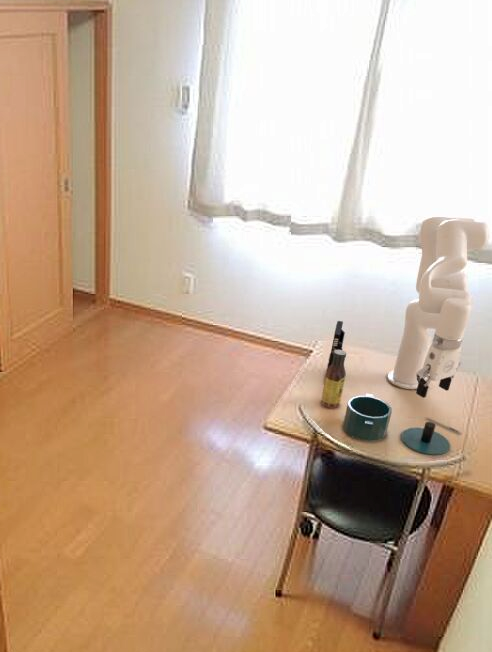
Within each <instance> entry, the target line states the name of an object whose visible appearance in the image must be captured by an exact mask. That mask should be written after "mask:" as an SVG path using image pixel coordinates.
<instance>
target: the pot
mask: <svg viewBox="0 0 492 652" xmlns="http://www.w3.org/2000/svg"><path fill="white" fill-rule="evenodd" d="M364 394H365V395H356V396H353V397H351V398H350V399H349V400H348V401H347V405H346V410H345V414H344V419H343V424H342V429H343V431H344V432H345V433H346V434H347V436H349V437H350V438H356V439H359V440H363V441H368V442H369V441H370V442H372V441H379V440H382V439H384V438H385V437H386V436H387V432H388V429H389V424H390V420H391V417H392V413H393V411H392V407H391V406H390V405H389V403H388V402H387V401H385V400H383V399H382V398H378V397H375V396H374V394H372V393H364Z"/></svg>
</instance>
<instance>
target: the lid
mask: <svg viewBox="0 0 492 652" xmlns="http://www.w3.org/2000/svg"><path fill="white" fill-rule="evenodd" d="M435 429H436V424H435V423H434V422H431V421H426V422H425V423H424V427H410V428H407V429H404V430H403V432H402V433H401V440H402V443H403V444H404V445H405V446H406V447H408V448H409V449H411V450H412V451H414V452H417V453H419V454H423V455H427V456H442V455H444V454H446V453H448V452H449V451H450V447H451V444H450V442H449V440H448V439H447V438H446V437H445V436H444V435H442V434H441V433H440V432H438V431H435Z"/></svg>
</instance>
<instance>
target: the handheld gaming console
mask: <svg viewBox="0 0 492 652" xmlns="http://www.w3.org/2000/svg"><path fill="white" fill-rule="evenodd" d="M343 324H344V321H343V320H337V322H336V325H335V329H334V335H333V340H332V345H331V350H330V353H329V356H328V362H327V367H326V370H327V369H328V368H329V366H330V365H331V364H332V361H333V353H334V351H335V350H343V343H344V338H345V334H346V332H345V331H344V330H343ZM326 375H327V373H325V376H326Z"/></svg>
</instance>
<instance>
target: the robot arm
mask: <svg viewBox="0 0 492 652" xmlns="http://www.w3.org/2000/svg"><path fill="white" fill-rule="evenodd" d="M419 237H420V238H419V239H420V245H421V259H420V263H419V267H418V272H417V277H416V282H415V289H416V292H417V293H418V299H417V298H416V299H413V300H411V301H410V302H409V303H408V304H407V305H406V308H405V317H404V326H403V332H402V336H401V340H400V344H399V348H398V352H397V356H396V360H395V363H394V368H393V370H392V371H391V370H390V372H388V374H387V380H388V382H390V384H392V385H394V386H395V387H398V388H401V389H406V390H415V394H416V395H418V396H419V397H421V398H423V399H425V398H426V397H427V394H428V391H429V384H430V383H431V382H432V381H433V382H436V381H439V384H438V387H439V388H441V389H443V390H444V391H449V390H450V387H451V383H452V381H453V380H452V379H454V377H455V375H456V374H457V372H458V369H459V367H460V366H461V364H462V363H461V362H460V359H461V354H462V343H463V338H464V336H465V332H466V329H467V325H468V323H469V319H470V315H471V312H472V308H473V304H474V298H473V297H472V294H471V293H470V292H469V291H468V287H469V277H468V275H467V273H466V272H465V271H462V270H464V269H465V268H466V266H467V264H468V250H472V251H473V250H474V251H481V250H483V249H484V248H485V247H486V246H487V244H488V242H489V239H490V238H489V237H490V231H489V226H488V224H487V223H486V222H485V221H483V220H480V219H478V218H470V217H460V216H450V215H449V216H447V215H429V216H426V217H425V218H424V219H423V220H422V222H421V224H420V232H419ZM428 329H429V330H430V329H431V330H432V329H433V330H434V333H433V337H432V338H431V335H430V333H429V331H428ZM425 378H427V379H425Z"/></svg>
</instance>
